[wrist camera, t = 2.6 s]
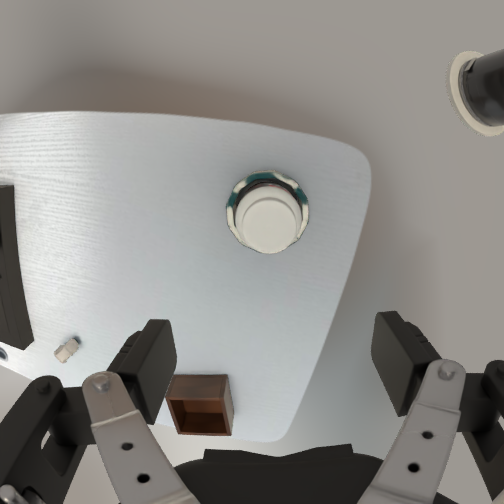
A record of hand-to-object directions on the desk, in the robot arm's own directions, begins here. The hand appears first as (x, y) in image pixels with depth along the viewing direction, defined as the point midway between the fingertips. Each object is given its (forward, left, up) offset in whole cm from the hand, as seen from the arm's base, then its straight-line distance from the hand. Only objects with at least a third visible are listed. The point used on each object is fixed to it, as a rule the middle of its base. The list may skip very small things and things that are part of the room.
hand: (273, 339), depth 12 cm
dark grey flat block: (+48, 0, -22) cm, 53 cm away
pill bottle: (0, -2, -22) cm, 22 cm away
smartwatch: (+28, +14, -22) cm, 38 cm away
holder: (+10, +22, -22) cm, 33 cm away
